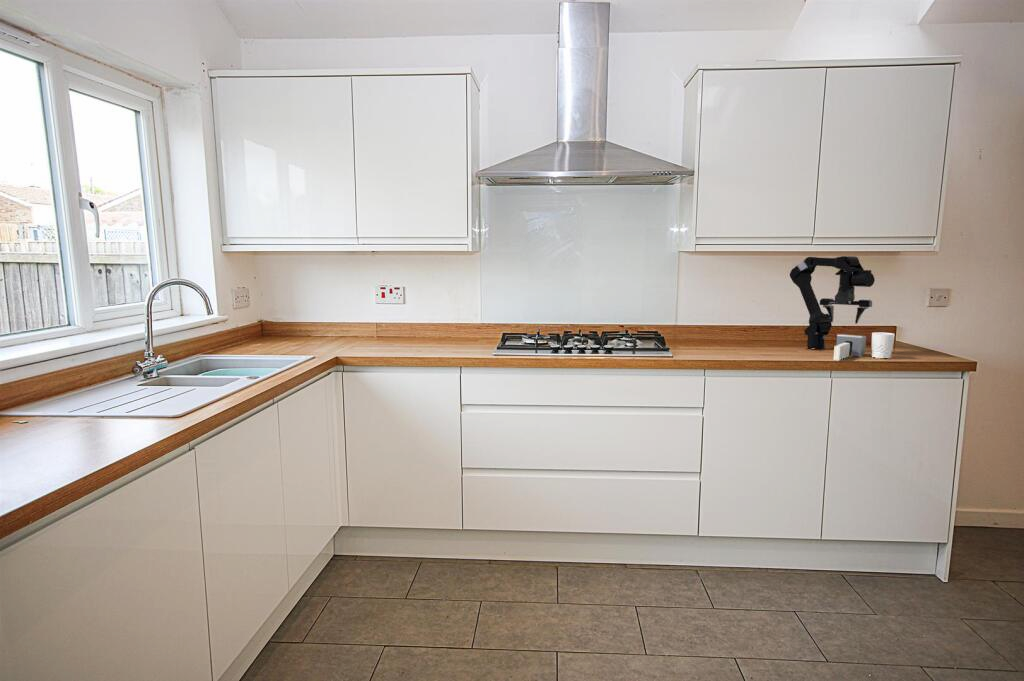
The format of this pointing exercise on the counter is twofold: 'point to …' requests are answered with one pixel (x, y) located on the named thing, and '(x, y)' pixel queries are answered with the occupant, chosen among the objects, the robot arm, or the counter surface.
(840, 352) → the white rectangular block
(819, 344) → the robot arm
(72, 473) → the counter surface
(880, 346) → the white cup
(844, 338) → the dispenser
